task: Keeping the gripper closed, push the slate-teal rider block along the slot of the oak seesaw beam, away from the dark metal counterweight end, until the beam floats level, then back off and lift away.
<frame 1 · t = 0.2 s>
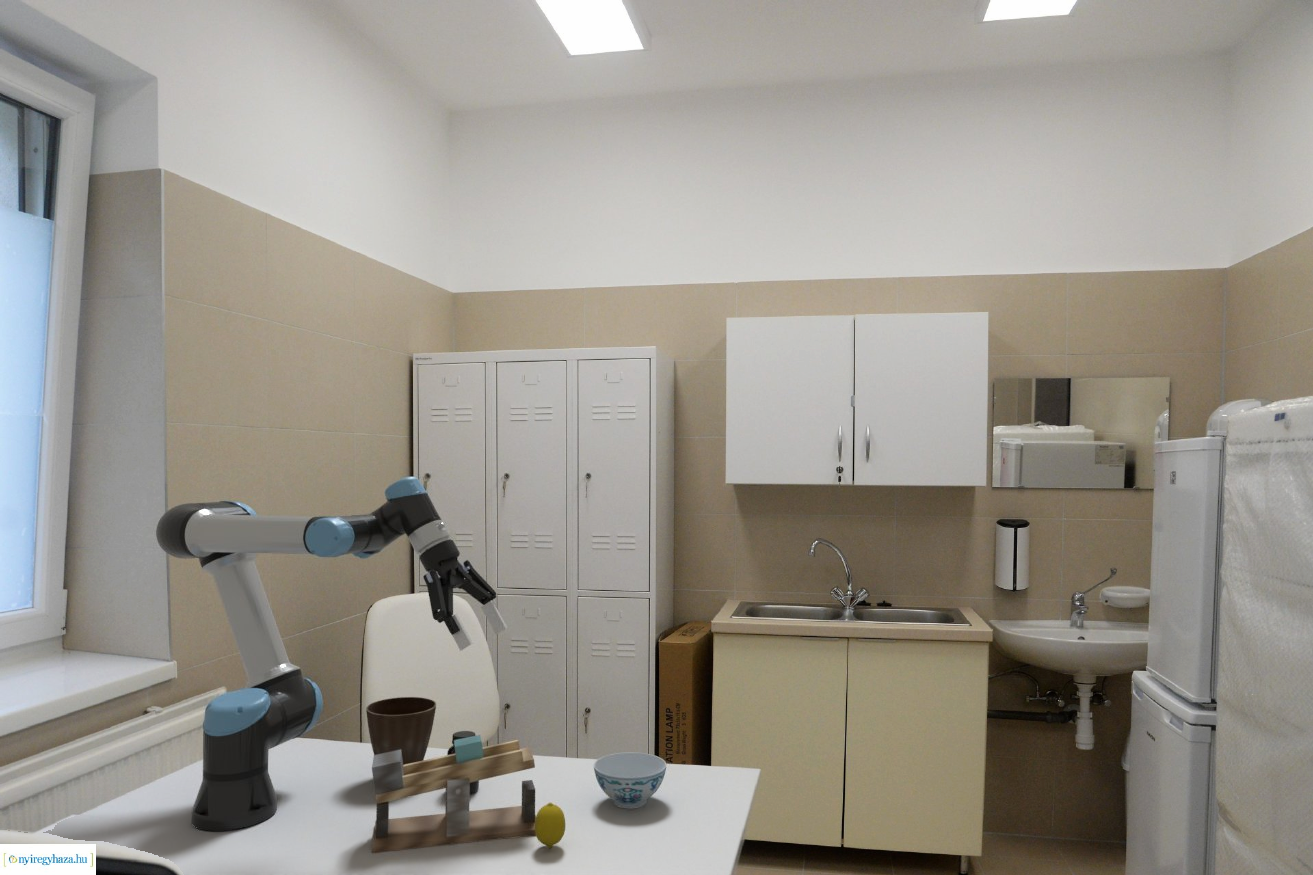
hand: (485, 638, 171), 35 cm above the table, tool tilted 30°, fingers open, 13 cm apart
beam: (454, 761, 163), point 13 cm above the table, hinge at -8.0°, touching rider
lemon: (549, 848, 155), on the table
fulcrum: (456, 829, 163), on the table
supplement bottle: (462, 791, 182), on the table
rider: (471, 766, 164), point 12 cm above the table, tilted 8°, touching beam
chinaware: (629, 802, 177), on the table
plant pot: (400, 779, 190), on the table
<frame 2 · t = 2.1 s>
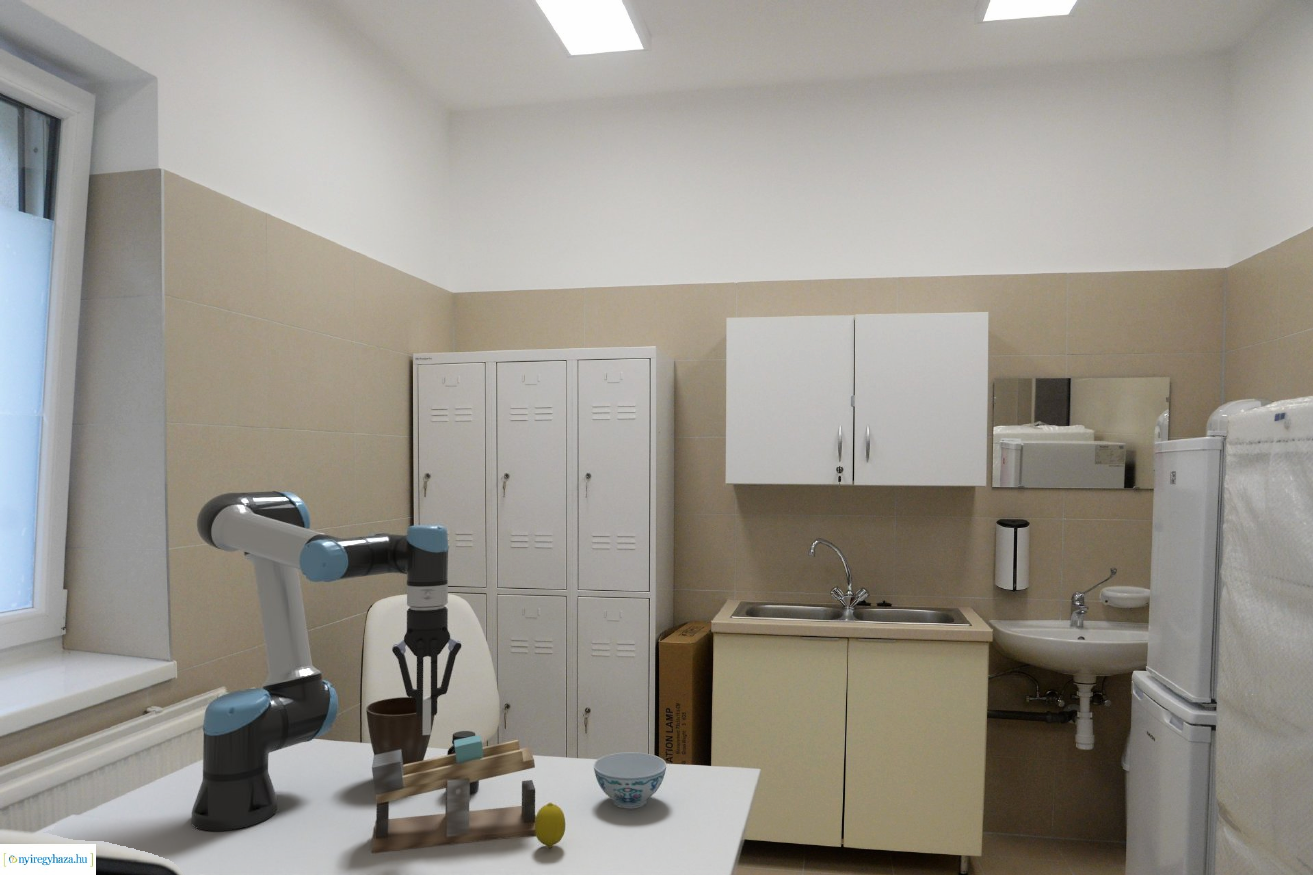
hand: (426, 732, 162), 19 cm above the table, tool pointing down, fingers closed
nothing on the table moved.
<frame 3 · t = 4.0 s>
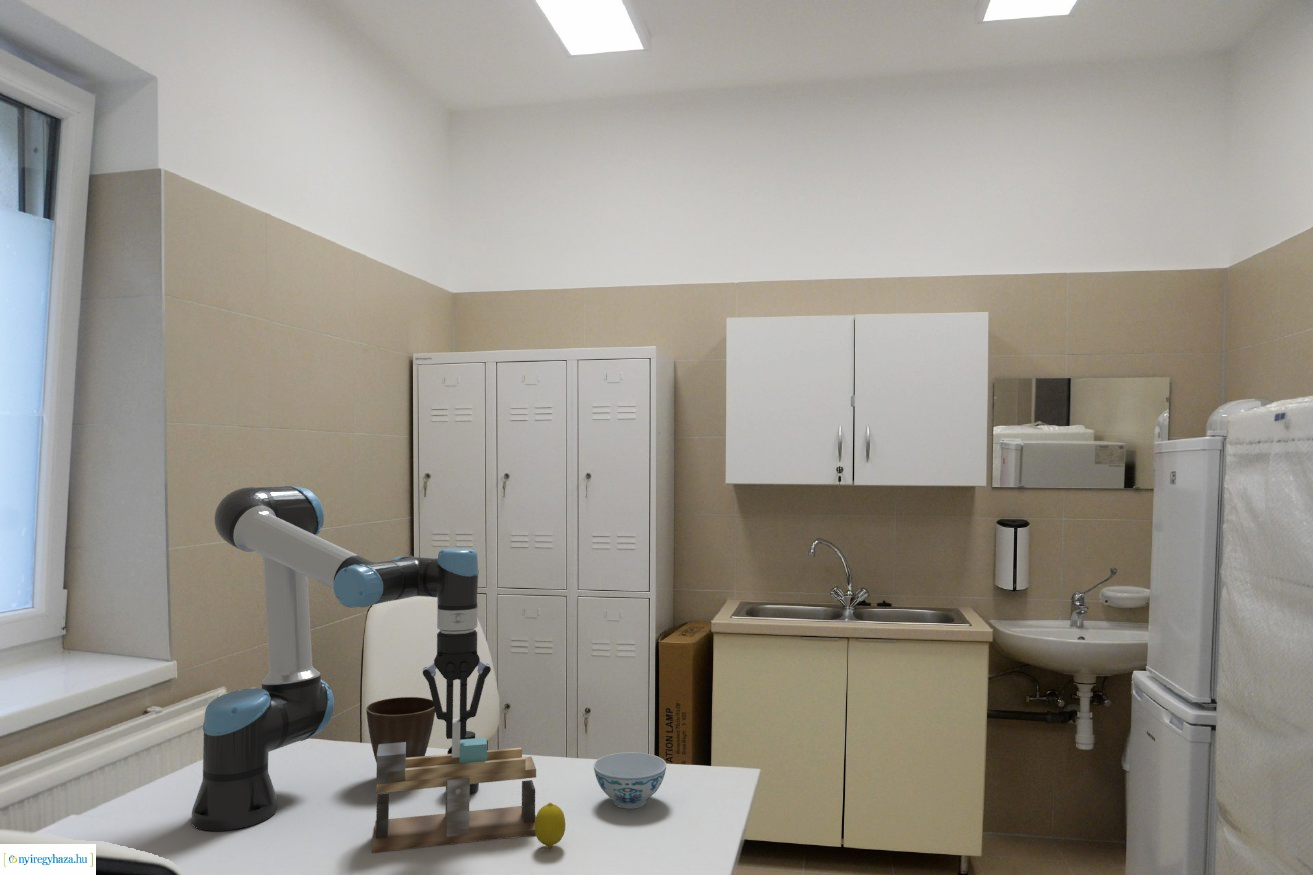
hand: (455, 754, 163), 14 cm above the table, tool pointing down, fingers closed
beam: (457, 760, 163), point 13 cm above the table, hinge at -0.4°
rider: (472, 768, 164), point 11 cm above the table, touching gripper
everything else where it was.
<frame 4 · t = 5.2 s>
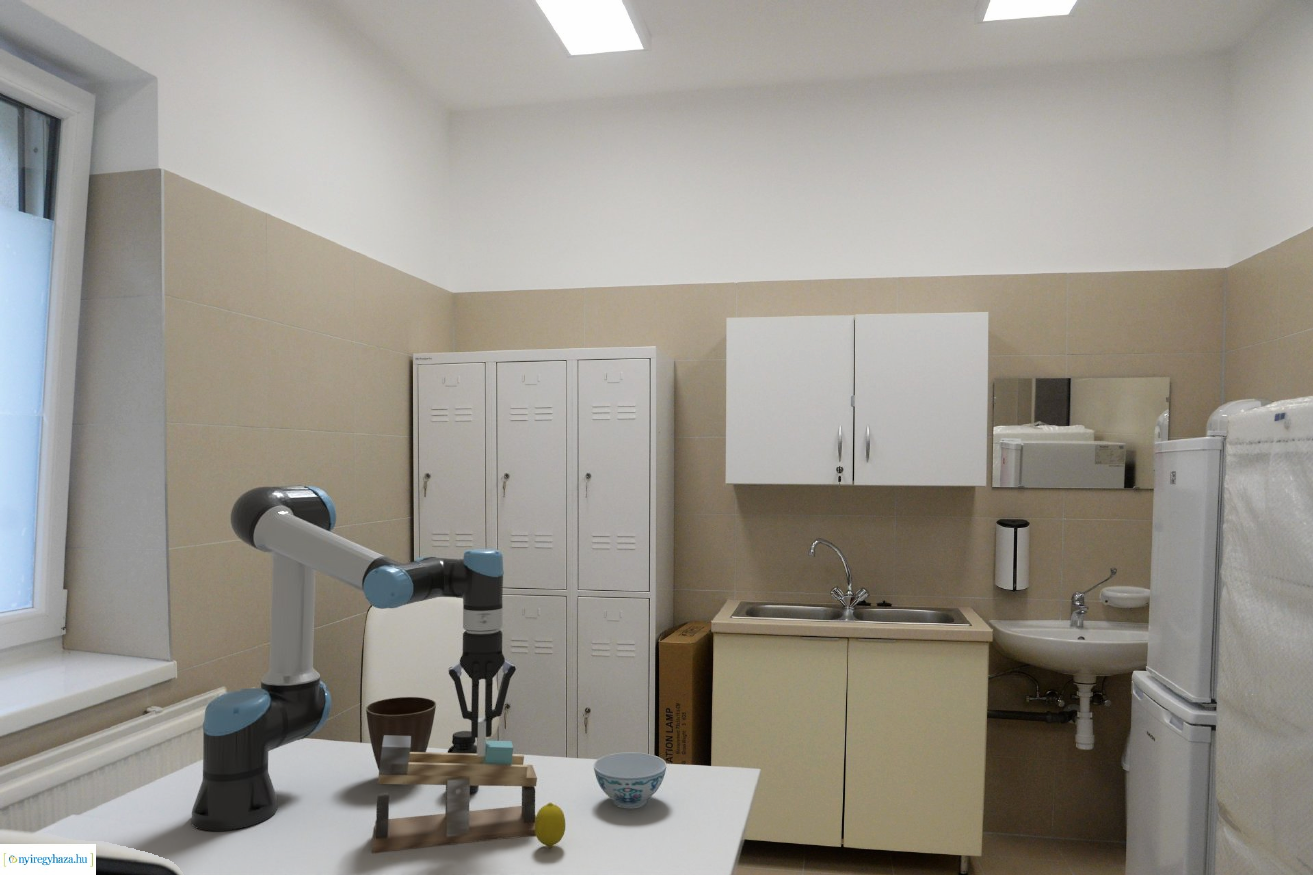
hand: (481, 753, 164), 14 cm above the table, tool pointing down, fingers closed
beam: (459, 760, 163), point 13 cm above the table, hinge at 6.2°, touching rider
rider: (496, 770, 165), point 11 cm above the table, tilted 6°, touching beam, gripper
everything else where it was.
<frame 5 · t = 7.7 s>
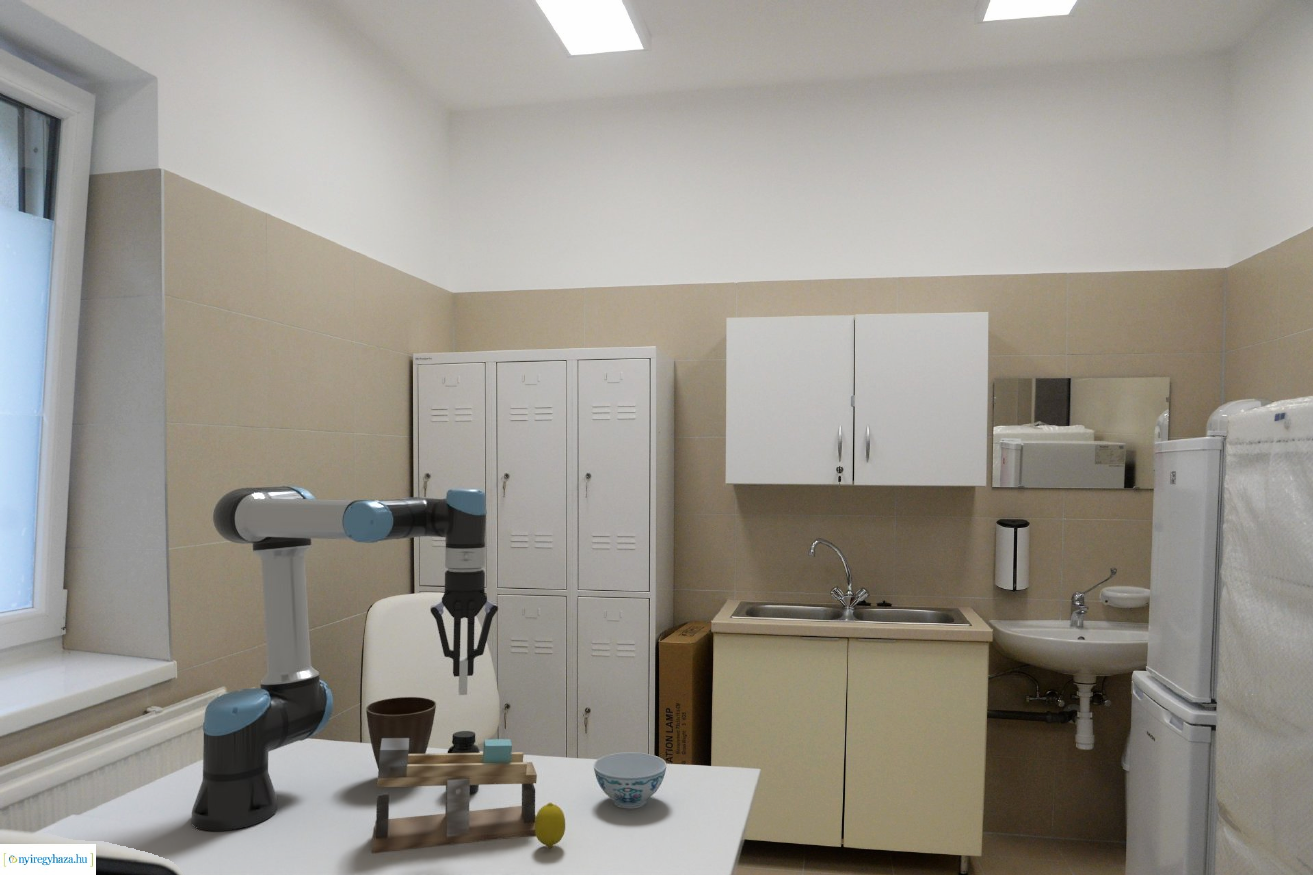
hand: (462, 692, 164), 26 cm above the table, tool pointing down, fingers closed
beam: (459, 760, 163), point 13 cm above the table, hinge at 3.9°, touching rider
rider: (495, 768, 165), point 11 cm above the table, touching beam
everything else where it was.
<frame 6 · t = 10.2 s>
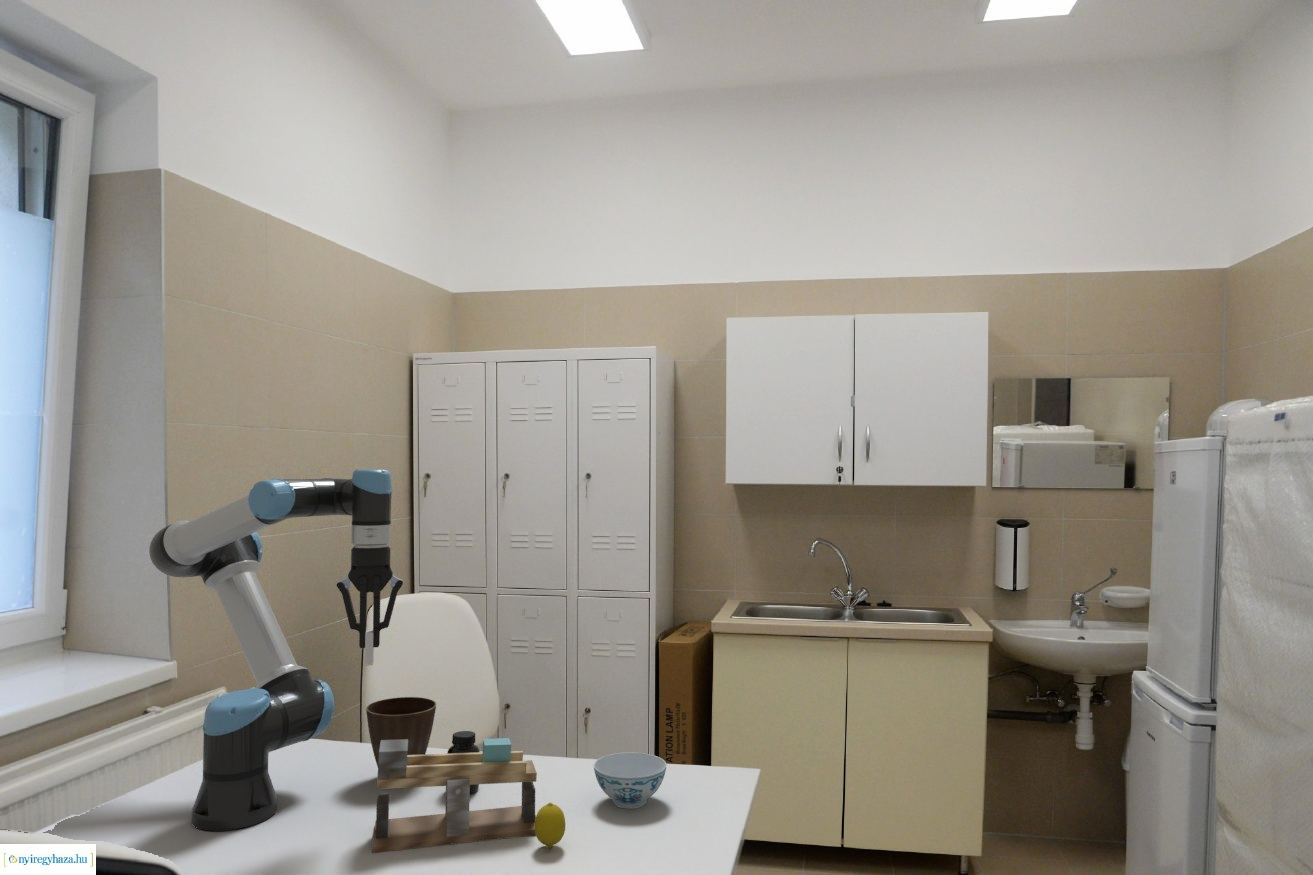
hand: (369, 663, 172), 29 cm above the table, tool pointing down, fingers closed
beam: (458, 760, 163), point 13 cm above the table, hinge at 2.6°, touching rider
everything else where it was.
at the end: beam at +3° (first picture: -8°); rider inside the target area on the beam (1.6 cm from its centre), point 2.0 cm above the beam's base; the gripper is holding nothing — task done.
